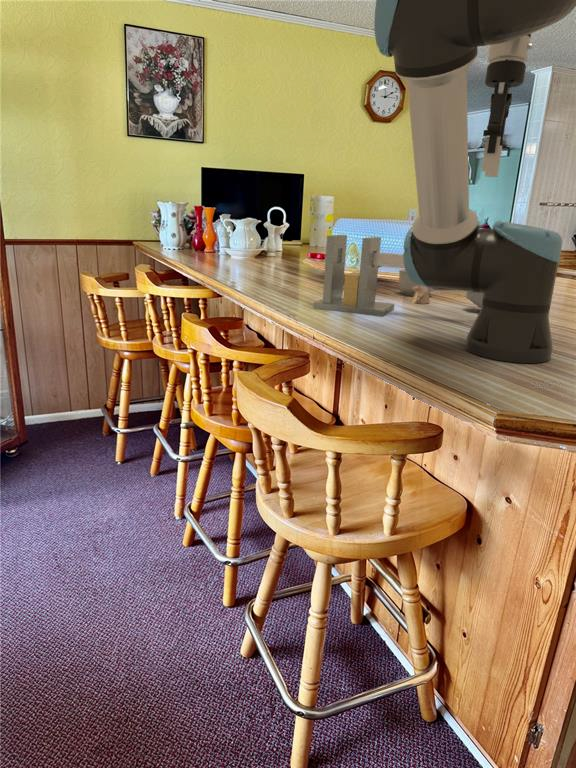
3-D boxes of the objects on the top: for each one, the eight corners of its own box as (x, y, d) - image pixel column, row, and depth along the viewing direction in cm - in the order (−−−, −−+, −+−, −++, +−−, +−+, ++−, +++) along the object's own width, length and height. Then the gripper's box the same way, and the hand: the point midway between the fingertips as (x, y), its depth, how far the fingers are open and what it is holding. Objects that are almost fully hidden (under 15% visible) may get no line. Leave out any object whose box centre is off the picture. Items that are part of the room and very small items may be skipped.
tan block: (356, 305, 135) (358, 276, 133) (342, 304, 136) (345, 274, 134) (364, 301, 142) (366, 273, 139) (351, 300, 143) (353, 272, 141)
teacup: (426, 299, 160) (430, 272, 158) (391, 295, 165) (394, 268, 163) (439, 294, 172) (442, 268, 169) (406, 290, 177) (409, 265, 174)
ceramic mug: (488, 319, 142) (511, 299, 138) (464, 302, 141) (486, 281, 136) (487, 299, 150) (508, 280, 145) (464, 283, 149) (485, 263, 144)
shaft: (474, 276, 124) (477, 258, 123) (371, 267, 133) (372, 250, 132) (476, 275, 127) (479, 257, 126) (375, 266, 136) (376, 250, 135)
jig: (382, 316, 131) (390, 240, 125) (313, 308, 137) (318, 235, 132) (393, 309, 141) (401, 238, 136) (329, 301, 148) (333, 234, 142)
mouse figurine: (440, 305, 151) (444, 281, 149) (412, 304, 151) (415, 280, 149) (435, 302, 156) (438, 279, 154) (408, 301, 156) (411, 277, 154)
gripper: (527, 44, 98) (507, 169, 105) (525, 77, 120) (508, 179, 127) (484, 46, 101) (467, 168, 107) (490, 78, 123) (475, 178, 129)
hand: (489, 174), depth 117 cm, fingers open, 13 cm apart
